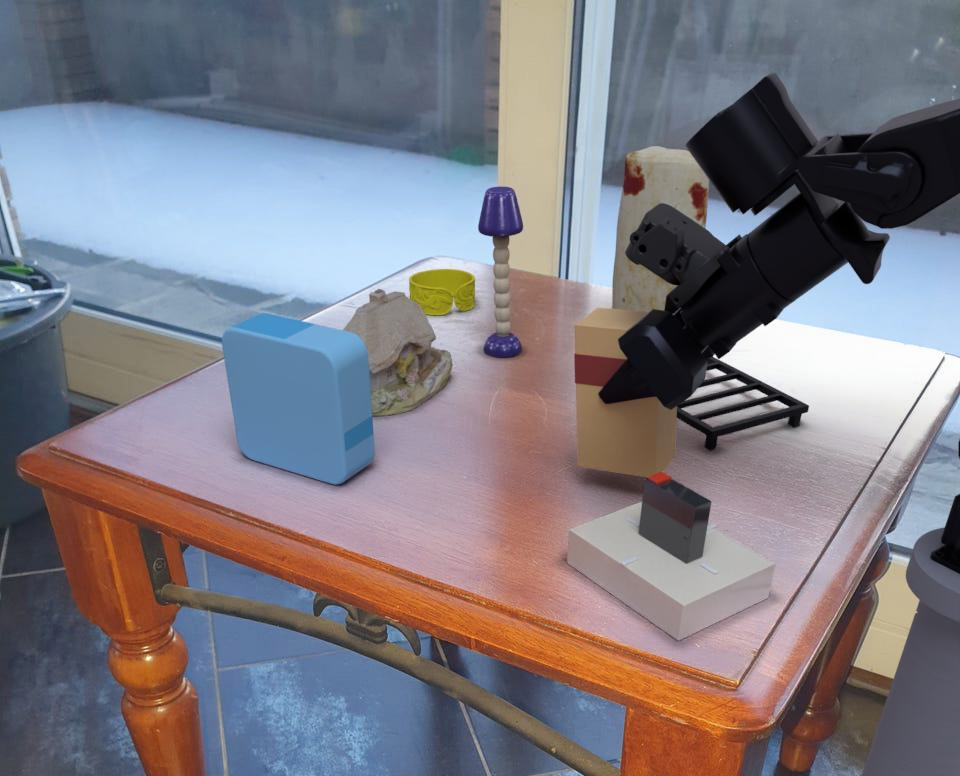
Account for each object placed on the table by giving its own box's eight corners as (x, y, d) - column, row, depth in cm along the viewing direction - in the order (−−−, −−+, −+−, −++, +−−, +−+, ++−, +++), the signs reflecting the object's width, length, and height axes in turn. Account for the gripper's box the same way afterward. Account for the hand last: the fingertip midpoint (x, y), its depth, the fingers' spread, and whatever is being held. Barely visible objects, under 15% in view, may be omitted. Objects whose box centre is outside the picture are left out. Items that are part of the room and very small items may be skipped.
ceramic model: (379, 427, 94) (373, 323, 88) (296, 398, 99) (284, 297, 93) (470, 380, 103) (470, 283, 97) (389, 356, 108) (384, 262, 102)
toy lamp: (483, 359, 108) (484, 195, 98) (473, 344, 111) (473, 184, 101) (526, 356, 109) (531, 193, 98) (515, 340, 112) (518, 182, 102)
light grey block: (769, 597, 72) (777, 560, 70) (677, 641, 67) (683, 603, 66) (654, 527, 79) (659, 492, 78) (565, 563, 75) (567, 527, 73)
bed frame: (804, 426, 95) (809, 405, 93) (708, 453, 90) (712, 431, 89) (681, 361, 108) (683, 341, 106) (592, 381, 103) (593, 361, 102)
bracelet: (399, 301, 123) (398, 274, 121) (456, 291, 126) (456, 265, 124) (426, 319, 118) (425, 291, 116) (485, 308, 121) (485, 280, 119)
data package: (377, 468, 87) (368, 334, 80) (346, 489, 84) (334, 352, 77) (271, 437, 92) (253, 309, 85) (238, 457, 89) (217, 325, 82)
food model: (598, 340, 112) (613, 146, 100) (621, 322, 117) (638, 135, 105) (679, 356, 108) (705, 157, 96) (700, 337, 113) (727, 145, 101)
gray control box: (702, 556, 70) (712, 497, 68) (686, 563, 70) (695, 504, 67) (654, 527, 74) (661, 469, 71) (638, 533, 73) (644, 475, 70)
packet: (598, 445, 87) (597, 306, 80) (676, 457, 84) (681, 314, 77) (576, 467, 83) (573, 324, 77) (656, 479, 80) (660, 332, 74)
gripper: (740, 145, 75) (594, 274, 86) (662, 200, 62) (500, 345, 72) (824, 266, 77) (671, 377, 88) (766, 345, 64) (594, 464, 74)
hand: (613, 387), depth 80 cm, fingers closed on packet, 4 cm apart
